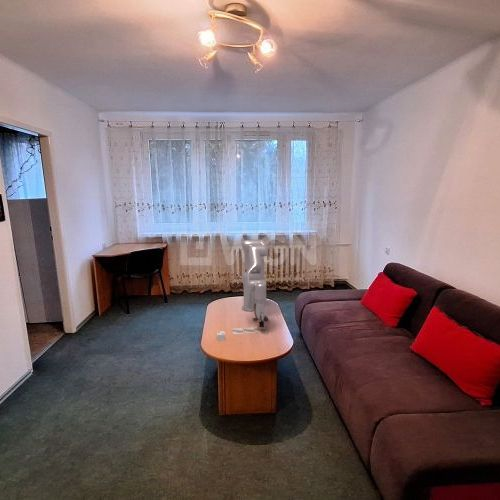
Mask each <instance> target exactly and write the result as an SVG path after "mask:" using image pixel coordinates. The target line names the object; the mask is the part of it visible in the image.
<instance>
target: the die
mask: <svg viewBox="0 0 500 500" xmlns="http://www.w3.org/2000/svg"><path fill="white" fill-rule="evenodd" d="M216 340H217V342H222V341H223V342H224V341H226V332H225V331H224V330H223V331H222V330H221V331H216Z"/></svg>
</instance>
